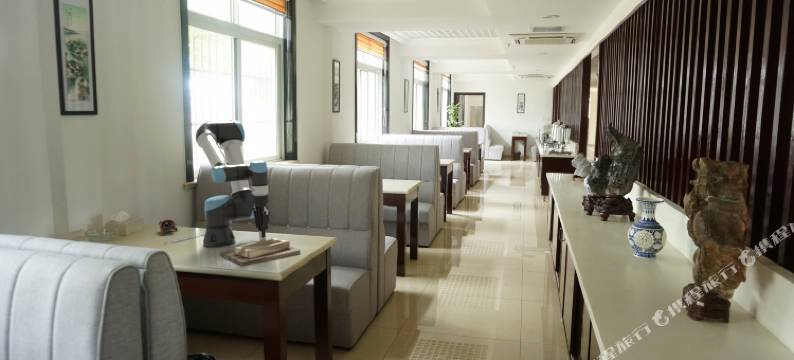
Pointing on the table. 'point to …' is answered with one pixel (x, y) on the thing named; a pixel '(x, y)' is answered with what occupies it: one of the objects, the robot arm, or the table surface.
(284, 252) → the display board
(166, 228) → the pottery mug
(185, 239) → the plaque
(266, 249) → the wooden tray
